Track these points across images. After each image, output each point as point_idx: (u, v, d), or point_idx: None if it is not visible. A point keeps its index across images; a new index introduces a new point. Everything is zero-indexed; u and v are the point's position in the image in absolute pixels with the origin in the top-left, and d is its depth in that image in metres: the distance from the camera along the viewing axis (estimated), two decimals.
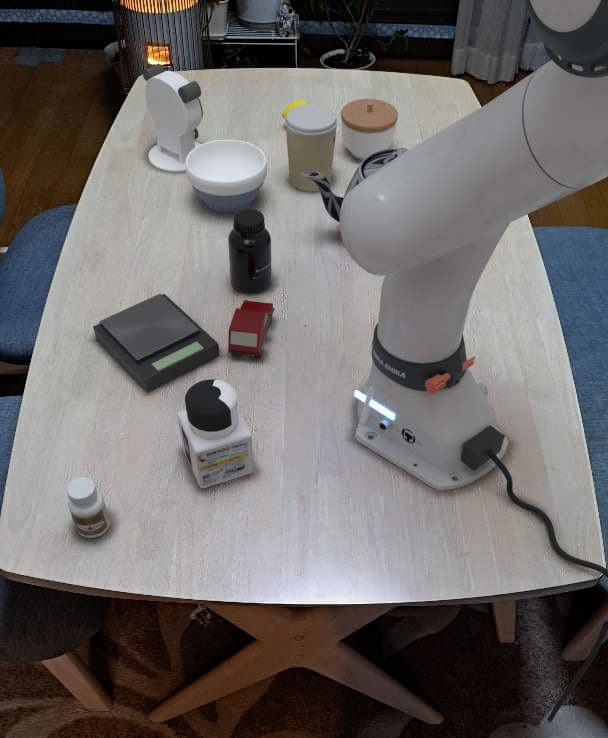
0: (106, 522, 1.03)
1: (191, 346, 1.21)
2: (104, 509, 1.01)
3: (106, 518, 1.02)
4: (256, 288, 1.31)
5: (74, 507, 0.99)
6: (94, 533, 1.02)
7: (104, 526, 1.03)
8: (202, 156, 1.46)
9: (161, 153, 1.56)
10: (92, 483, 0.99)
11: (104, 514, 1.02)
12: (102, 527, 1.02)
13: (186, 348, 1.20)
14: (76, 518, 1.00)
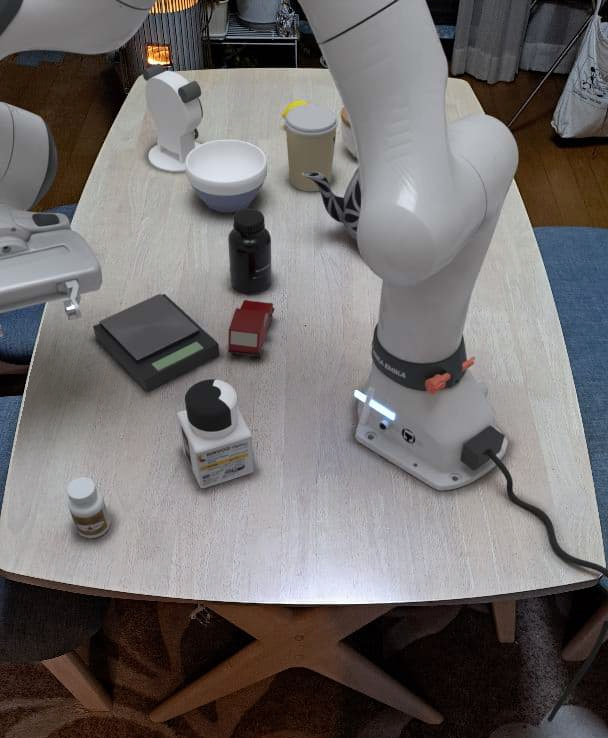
0: (106, 522, 1.03)
1: (191, 346, 1.21)
2: (104, 509, 1.01)
3: (106, 518, 1.02)
4: (256, 288, 1.31)
5: (74, 507, 0.99)
6: (94, 533, 1.02)
7: (104, 526, 1.03)
8: (202, 156, 1.46)
9: (161, 153, 1.56)
10: (92, 483, 0.99)
11: (104, 514, 1.02)
12: (102, 527, 1.02)
13: (186, 348, 1.20)
14: (76, 518, 1.00)
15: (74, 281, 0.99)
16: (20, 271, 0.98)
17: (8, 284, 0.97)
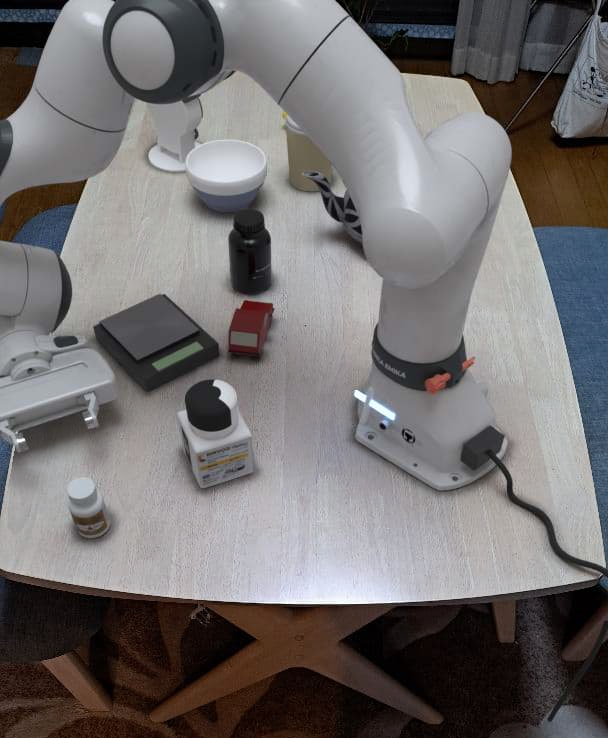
0: (106, 522, 1.03)
1: (191, 346, 1.21)
2: (104, 509, 1.01)
3: (106, 518, 1.02)
4: (256, 288, 1.31)
5: (74, 507, 0.99)
6: (94, 533, 1.02)
7: (104, 526, 1.03)
8: (202, 156, 1.46)
9: (161, 153, 1.56)
10: (92, 483, 0.99)
11: (104, 514, 1.02)
12: (102, 527, 1.02)
13: (186, 348, 1.20)
14: (76, 518, 1.00)
15: (92, 393, 1.08)
16: (42, 389, 1.07)
17: (32, 402, 1.06)
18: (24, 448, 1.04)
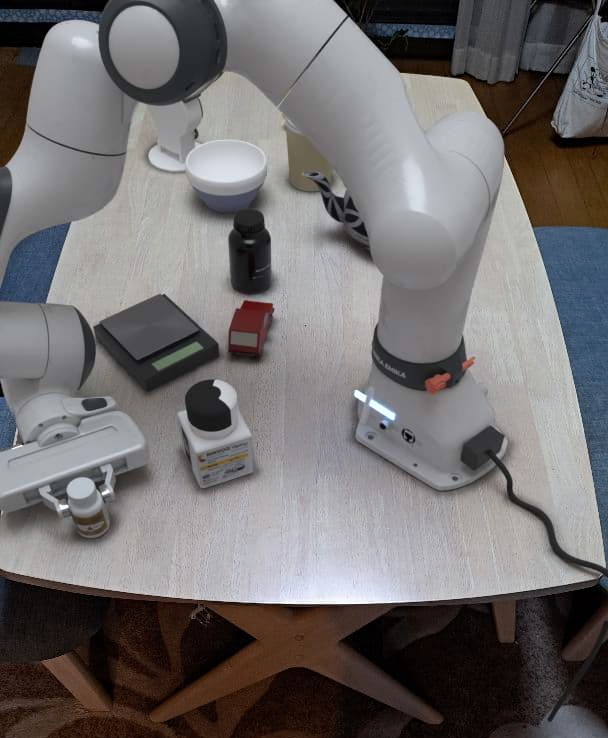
0: (106, 522, 1.03)
1: (191, 346, 1.21)
2: (104, 509, 1.01)
3: (106, 518, 1.02)
4: (256, 288, 1.31)
5: (74, 507, 0.99)
6: (94, 533, 1.02)
7: (104, 526, 1.03)
8: (202, 156, 1.46)
9: (161, 153, 1.56)
10: (92, 483, 0.99)
11: (104, 514, 1.02)
12: (102, 527, 1.02)
13: (186, 348, 1.20)
14: (76, 518, 1.00)
15: (108, 465, 1.03)
16: (71, 456, 1.02)
17: (61, 470, 1.01)
18: (67, 515, 1.00)
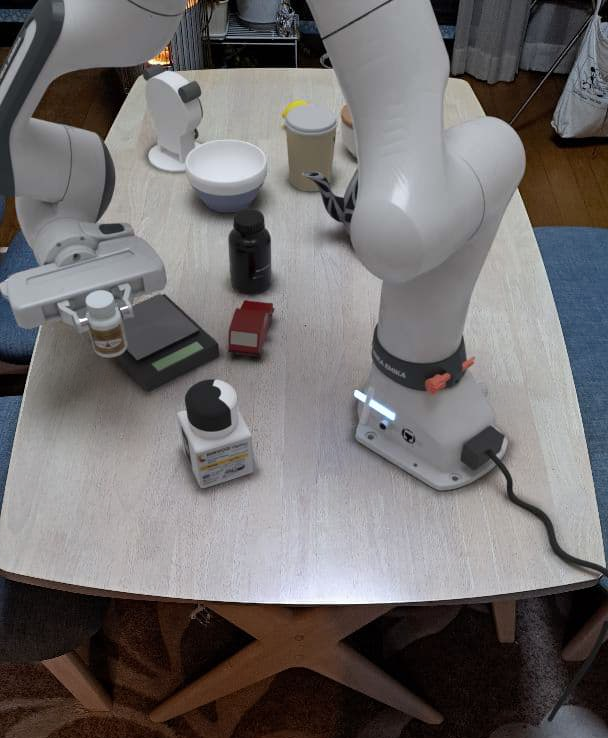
0: (123, 341, 1.03)
1: (191, 346, 1.21)
2: (122, 326, 1.02)
3: (123, 336, 1.03)
4: (256, 288, 1.31)
5: (93, 320, 1.00)
6: (112, 352, 1.03)
7: (122, 345, 1.04)
8: (202, 156, 1.46)
9: (161, 153, 1.56)
10: (110, 295, 0.99)
11: (122, 331, 1.02)
12: (120, 346, 1.03)
13: (186, 348, 1.20)
14: (95, 332, 1.01)
15: (126, 284, 1.03)
16: (89, 274, 1.03)
17: (79, 286, 1.02)
18: (86, 329, 1.00)
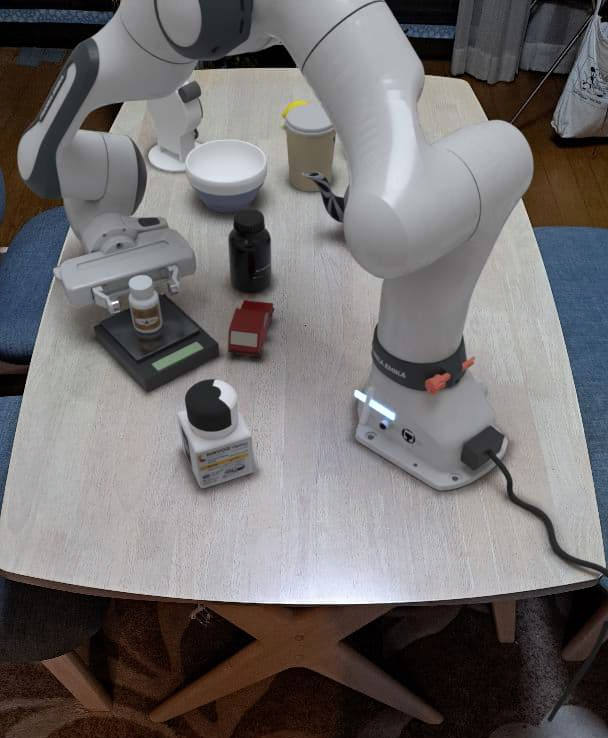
0: (159, 319, 1.21)
1: (191, 346, 1.21)
2: (159, 306, 1.19)
3: (160, 315, 1.20)
4: (256, 288, 1.31)
5: (134, 300, 1.17)
6: (150, 328, 1.21)
7: (158, 323, 1.21)
8: (202, 156, 1.46)
9: (161, 153, 1.56)
10: (150, 279, 1.17)
11: (158, 310, 1.20)
12: (156, 323, 1.21)
13: (186, 348, 1.20)
14: (136, 311, 1.18)
15: (174, 265, 1.21)
16: (130, 261, 1.20)
17: (122, 271, 1.19)
18: (117, 310, 1.17)
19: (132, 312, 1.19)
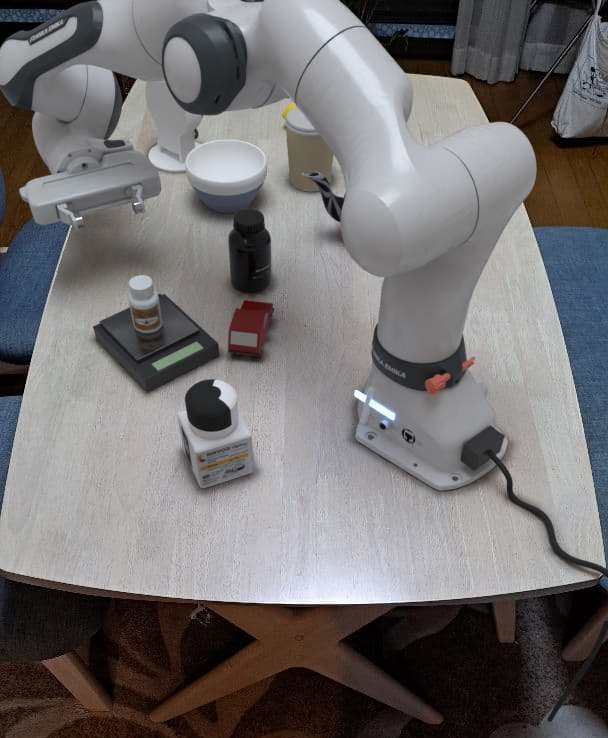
0: (159, 319, 1.21)
1: (191, 346, 1.21)
2: (159, 306, 1.19)
3: (160, 315, 1.20)
4: (256, 288, 1.31)
5: (134, 300, 1.17)
6: (150, 328, 1.21)
7: (158, 323, 1.21)
8: (202, 156, 1.46)
9: (161, 153, 1.56)
10: (150, 279, 1.17)
11: (158, 310, 1.20)
12: (156, 323, 1.21)
13: (186, 348, 1.20)
14: (136, 311, 1.18)
15: (138, 185, 1.23)
16: (95, 180, 1.22)
17: (87, 189, 1.20)
18: (81, 226, 1.19)
19: (132, 312, 1.19)
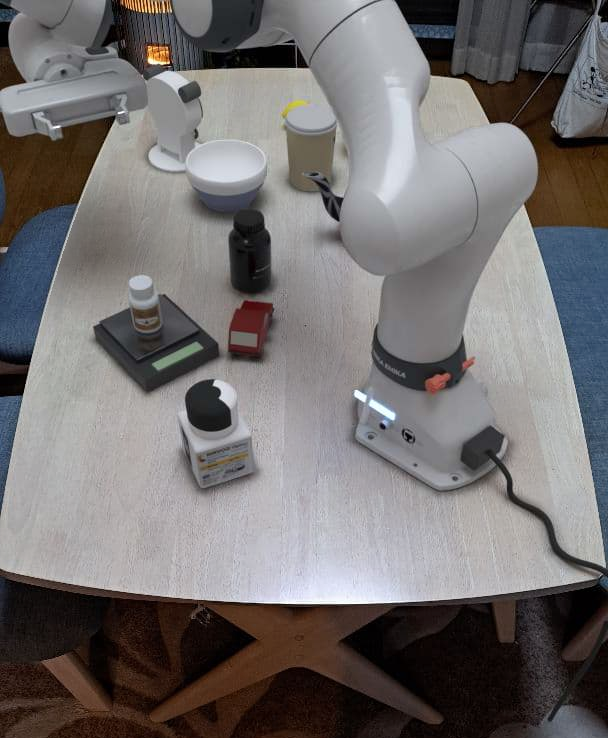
0: (159, 319, 1.21)
1: (191, 346, 1.21)
2: (159, 306, 1.19)
3: (160, 315, 1.20)
4: (256, 288, 1.31)
5: (134, 300, 1.17)
6: (150, 328, 1.21)
7: (158, 323, 1.21)
8: (202, 156, 1.46)
9: (161, 153, 1.56)
10: (150, 279, 1.17)
11: (158, 310, 1.20)
12: (156, 323, 1.21)
13: (186, 348, 1.20)
14: (136, 311, 1.18)
15: (123, 94, 1.12)
16: (75, 88, 1.11)
17: (66, 96, 1.10)
18: (59, 136, 1.08)
19: (132, 312, 1.19)
